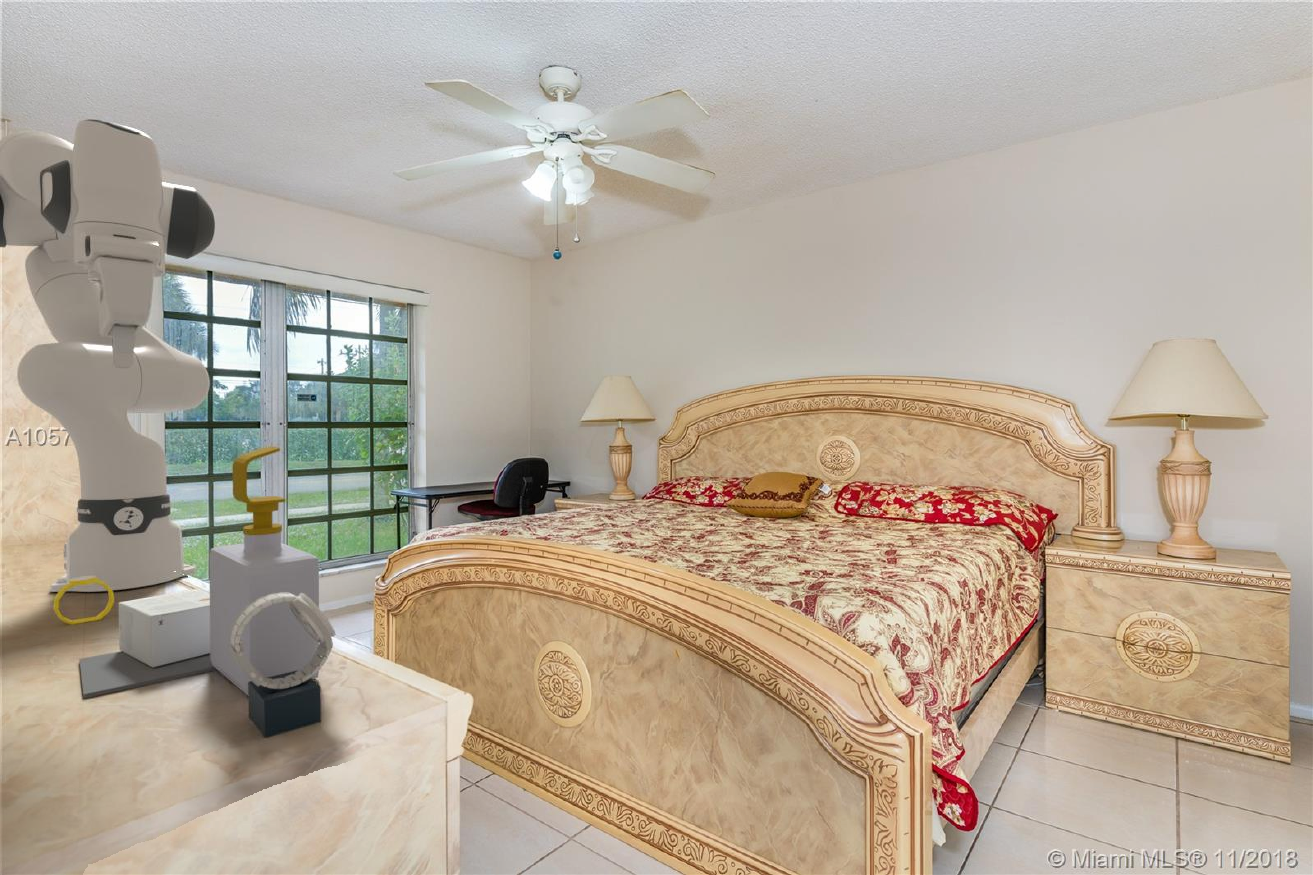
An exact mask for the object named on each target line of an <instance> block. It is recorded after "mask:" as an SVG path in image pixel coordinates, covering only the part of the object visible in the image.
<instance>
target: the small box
mask: <svg viewBox="0 0 1313 875" xmlns="http://www.w3.org/2000/svg"><path fill="white" fill-rule="evenodd" d="M118 637H119V638H118V643H119V644H118V646H119V648H118V649H119V651H123V652H124V653H126V654H128V655H130V656H132V657H134V658H136V659H138V660H140V661H141V662H143V663H145V664H147V665H149V666H151V667H153V668H155V667H158V666H162V665H167V664H170V663H174V662H178V661H182V660H186V659H190V658H194V657H198V656H202V655H206V654H210V592H208V591H205V590H202V589H199V588H192V589H187V590H183V591H176V592H171V593H164V594H159V595H155V596H154V595H153V596H149V597H143V598H138V599H132V600H126V601H120V602H118Z"/></svg>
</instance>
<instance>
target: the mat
mask: <svg viewBox="0 0 1313 875" xmlns="http://www.w3.org/2000/svg"><path fill="white" fill-rule="evenodd" d="M78 660H79V670H80V679H81V686H82V694H83V695H82V696H83V699H87V698H92V697H97V696H102V695H106V694H111V693H116V692H121V691H125V690H130V689H134V688H138V687H144V686H149V685H153V684H157V683H162V682H166V681H167V682H168V681H172V680H176V679H181V678H186V677H190V676H196V675H199V674H203V673H209V672H213V671H216V670H217V669H216V668H215V667H214V666H213V665H212V662H211V660H210V654H206V655H202V656H198V657H194V658H190V659H186V660H182V661H178V662H174V663H170V664H167V665H162V666H158V667H155V668H153V667H151V666H149V665H147V664H145V663H143V662H141V661H140V660H138V659H136V658H134V657H132V656H130V655H128V654H126V653H124V652H123V651H121V650H119V651H116V652H115V651H114V652H111V653H110V652H109V653H105V654H104V653H103V654H98V655H94V656H88V657H83V658H79V659H78ZM217 671H218V670H217Z"/></svg>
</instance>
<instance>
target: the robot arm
mask: <svg viewBox="0 0 1313 875" xmlns="http://www.w3.org/2000/svg"><path fill="white" fill-rule="evenodd" d="M155 142H156V141H155V140H154V139H153V138H152V137H150V136H149V135H148V134H146V133H145V132H142V131H140V130H138V129H136V128H133V127H129V126H127V125H122V124H120V123H119V124H118V123H117V122H116V123H115V122H112V121H107V120H106V121H105V120H101V119H91V118H90V119H84V120H79V121H78V122H77V124H76V127H75V132H74V139H73V143H71V142H69V141H67V140H65V139H63V138H62V137H59V136H57V135H54V134H51V133H47V132H45V131H37V130H18V131H15V132H12V133H9V134H7V135H5V136H4V137H2V138H1V139H0V248H6V247H7V246H12V247H13V246H14V247H35V248H33V249H32V250H31V251H30V252H29V253H28V254H27V256H26V258H25V262H24V267H25V274H26V279H27V283H28V287H29V290H30V293H31V295H32V298H33V300H34V302H35V304H36V307H37V308H38V310H39V312H40V314H41V316H42V318H43V320H44V322H45V323H46V325H47V327H48V329H49V332H51V335H52V336H53V338H54V339H55V340H56V341H57V342H54V343H53V342H51V343H41V344H36V345H35V346H33V347H32V348H30V349H29V350H27V352H26V353H25V354H24V355H23V357H22V358H21V359H20V362H19V363H18V367H17V373H16V375H17V383H18V386H19V388H20V391H21V392H22V393H23V395H24V396H25V397H26V399H28V401H30V402H31V403H32V404H33V405H34V406H37V407H39V409H42V410H44V411H45V412H47V413H48V414H49V415H50V416H52V417H53V418H54V419H55V420H56V421H57V422H58V423H59V424H60V425H61V426H62V427H63V428H64V429H65V431H66V432H67V434H68V435H69V437H70V439H71V441H72V443H73V445H74V447H75V450H76V455H77V460H78V468H79V478H80V479H79V480H80V498H79V499H78V500H77V507H76V513H77V521H78V522H79V525H78V526H77V528H76V529H75V530H74V531H72V532H71V533H70V534H69V536H67V537H66V542H64V545H63V559H64V560H66V561H64V564H63V566H64V567H63V568H64V570H65V571H66V573H65V574H64V575H62V576H60V578H58V579H57V580H56V581H54V582H52V584H50V587H49V592H51V593H52V592H53V593H54V592H57V593H58V592H59V591H60V589H61V588H63V587H64V586H65V585H67V584H69V580H70V579H73V578H76V577H82V576H91V575H94V576H97V580H100V581H103V582H105V583H106V584H107V585H108V586H109V587H110V588H111V589H112V591H120V590H127V589H128V590H129V589H135V588H140V587H141V588H142V587H147V586H154V585H157V584H162V583H166V582H170V581H173V580H175V579H178V578H180V577H181V578H182V577H184V576H190V575H193V574H196V573H197V568H196V566H193V565H191V564H190V565H189V564H188V563H187V564H186V563H184V550H183V548H184V547H183V546H184V545H183V531H182V527H181V526H180V525H178V524H177V523H175V522H173V520H172V519H171V517H169V516H170V515H171V506H172V504H171V503H172V501H171V496H170V494H168V493H167V458H166V456H167V454H166V453H165V450H164V449H163V447H162V446H161V445H160V444H159V443H158V442H157V441H155V440H154V439H152V438H149V437H147V436H145V435H142V434H140V433H138V432H136V431H137V430H135V429H134V428H133V426H132V425H131V423H130V421H129V417H128V414H168V413H169V414H170V413H175V412H182V411H187V410H192V409H195V408H198V407H199V406H200V405H201V404H202V403H203V402H204V400H205V399H206V397H207V396H208V393H209V390H210V385H211V383H210V375H209V372H208V370H207V369H206V366H205V365H204V364H203V363H202V362H201V360H200V359H199V358H197V357H195V356H192V355H191V354H187V353H185V352H183V351H181V350H179V349H177V348H175V347H173V346H171V344H169V343H167V342H166V341H164V340H163V339H161V337H160V338H159V337H158V336H157V335H155V334H154V333H153V332H152V331H150V330H149V329H148V328H146V327H145V325H146V324H147V323H149V319H150V314H151V311H152V310H151V308H152V301H153V293H154V292H153V291H154V282H155V278H156V277H162V276H164V275H165V274H166V257H165V256H166V255H167V256H170V257H171V256H172V257H176V258H180V259H185V260H189V259H191V258H192V257H193V258H194V257H195V256H197V255H199V254H200V253H202V252H203V251H204V250H206V249H207V248H208V247H209V246H210V245H211V244H212V242H213V239H214V235H215V228H216V222H215V216H214V211H213V210H212V207H211V206H210V205H209V203H208V202H207V201H206V199H205V198H204V197H203V195H201V194H200V192H198V191H197V190H196V189H195V188H194V187H190V186H185V185H179V184H172V183H167V182H164V181H163V175H162V169H161V161H160V157H159V156H160V155H159V152H158V148H157V144H156V143H155ZM165 254H166V255H165ZM174 571H176V572H174ZM183 574H184V575H183ZM65 592H81V593H82V592H84V593H86V592H87V593H90V592H108V590H107V589H106V588H105V587H104V586H103V585H100V584H97V583H90V584H85V585H78V586H73V587H71V588H70V589H68V590H66V591H65Z"/></svg>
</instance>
